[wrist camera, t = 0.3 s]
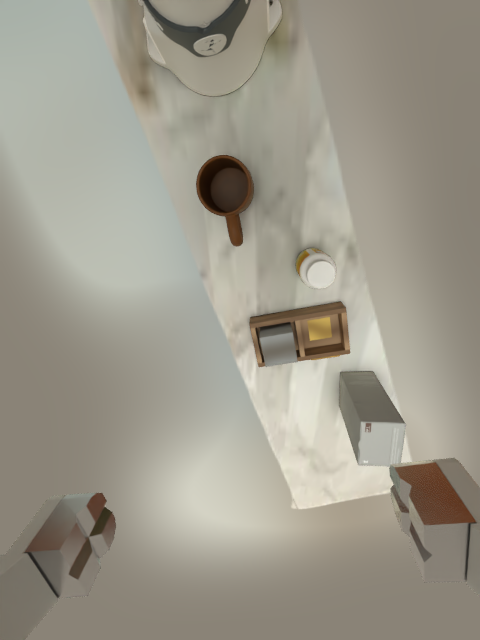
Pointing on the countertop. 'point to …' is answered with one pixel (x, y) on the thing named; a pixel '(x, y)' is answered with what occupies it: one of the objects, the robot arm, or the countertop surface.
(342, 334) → the caddy
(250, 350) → the countertop surface
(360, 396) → the skincare box
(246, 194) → the mug
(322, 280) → the supplement bottle
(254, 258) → the countertop surface
